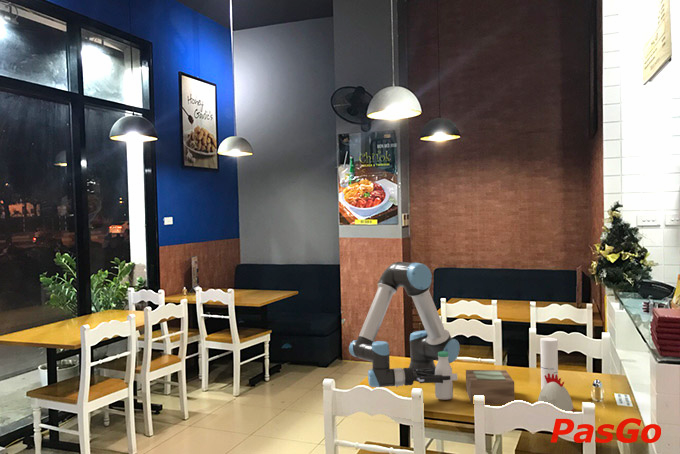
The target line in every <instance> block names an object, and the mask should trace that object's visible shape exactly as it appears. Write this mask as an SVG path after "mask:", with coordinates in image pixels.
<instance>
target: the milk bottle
mask: <svg viewBox="0 0 680 454" xmlns="http://www.w3.org/2000/svg"><path fill="white" fill-rule="evenodd" d="M435 367H436V368H435V375H442V374H453V368H452V366H451V363H449V361H448V352H446V351H440V352H438V361H437V363H436V364H435ZM453 386H454V380H451V381H443V383H434V394H435V396H434V397H435V398H436V399H439V400H444V401H445V400H452V399H453V397H454V387H453Z"/></svg>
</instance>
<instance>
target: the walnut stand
mask: <svg viewBox="0 0 680 454" xmlns="http://www.w3.org/2000/svg"><path fill="white" fill-rule="evenodd" d="M465 391H466V394H467V397H468V399H469V401H470V404H471V405H474V404H473V396H474V395H484V396H485V404H484V405H499V404H502V405H504V404H506V403H508V402H511V401H514V400H515V399H516V398H515V397H516V396H515V381H514V380H513V378H512V377H511V375H510V374H509V372H508V371H507V369H465Z"/></svg>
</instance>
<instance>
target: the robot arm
mask: <svg viewBox="0 0 680 454" xmlns="http://www.w3.org/2000/svg"><path fill="white" fill-rule="evenodd" d="M432 278H433V276H432V271H431V269H430V268H429V267H428V266H427V265H426V264H424V263H420V262H405V261H396V262H393V263H391V264H389V266H388V267H386V269H385V270H384V271H383V273H382V274H381V276H380V277H379V280H378V282H377V290H376V292H375V295H374V298H373V299H372V302H371V305H370V307H369V310H368V312H367V315H366V318H365V320H364V322H363V324H362V327H361V329H360V332H359V333H358V334H359V335H358V337H357V339H356V340H355V339H354V340H352V341H351V342H350V344H349V346H348V351H349V354H350V355H351V356H353V357H355V358H356V359H360V360H363V361H368V362H372V365H371V366H372V368H371V369H368V371H367V381H368V385H369V387H371V388H385V387H388V388H389V387H396V388H398V387H402V386H413V385H414V382H418V383H419V384H435V383H443V381H451V380H453V381H458V373H452V374H442V375H435V368H436V364H435V361H436V362H438V352H440V351H446V352H448V361H449V364H451V363H453V362H455V361H456V360H457V358H458V356H459V354H460V350H461V349H460V343H459V341H458V340H457V339H455V338H452V336H451V333H450V331H449V330H447V329H445V327H444V324H443V323H442V318H441V317H440V314H439V312H438V310H437V307H436V305H435V302H434V300H433V297H432V295H431V292H430V289H431V284H432V283H433V282H432ZM400 287H401V288H404V290H405V293H406V295H407V296H408V297H411V299H412V301H413V304H414V306H415V308H416V311H417V313H418V316H419V318H420V321H421V323H422V325H423V327H424V330H417V331H413V332H412V333H410V335H409V352H410V355H409V356H410V362H409V366H408V367H393V368H391V367H390V365H391V364H390V353H391V352H390V345H389V343H388V342H387V341H384V340H376V338H377V335H378V334H379V329H380V327H381V326H382V323H383V320H384V318H385V315H386V313H387V311H388V308H389V306H390V303H391V301H392V298H393V295H394V294H396V293H397V291H398V289H399V288H400ZM375 340H376V341H375Z"/></svg>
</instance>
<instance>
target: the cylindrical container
mask: <svg viewBox="0 0 680 454" xmlns="http://www.w3.org/2000/svg"><path fill="white" fill-rule="evenodd" d="M539 339H540V340H539V341H540V343H539V344H540V347H539V348H540V391H541V390H542V389H543V387H544V386H545V385H546V384H547V381H546V379H545V375H546V376H547V378H548V373H549V374H550V377H552V374H554V379H555V375H557V377H558V378H559V366H558V365H559V359H558V357H559V356H558V355H559V354H558V351H559V349H558V348H559V347H558V339H557V338H554V337H549V336H548V337H547V336H546V337H541V338H539Z"/></svg>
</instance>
